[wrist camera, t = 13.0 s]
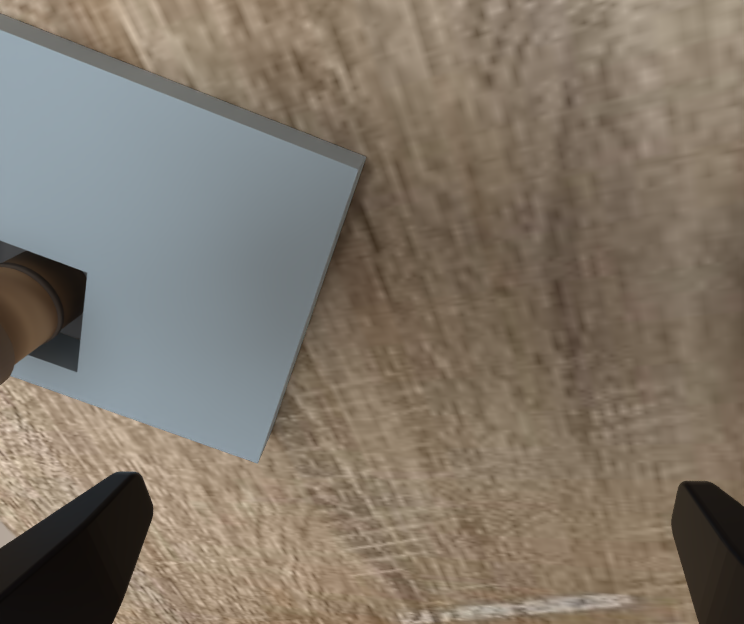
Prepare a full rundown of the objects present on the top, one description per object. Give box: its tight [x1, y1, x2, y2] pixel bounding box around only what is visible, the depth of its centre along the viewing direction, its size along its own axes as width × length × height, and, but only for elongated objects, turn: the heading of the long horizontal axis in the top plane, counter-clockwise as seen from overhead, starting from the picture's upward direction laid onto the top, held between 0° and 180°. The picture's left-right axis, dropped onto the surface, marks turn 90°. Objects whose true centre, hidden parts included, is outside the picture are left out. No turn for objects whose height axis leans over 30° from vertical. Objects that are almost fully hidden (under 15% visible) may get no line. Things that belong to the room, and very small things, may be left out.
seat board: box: [0, 14, 366, 464], centre depth 21 cm, size 16×14×2 cm
